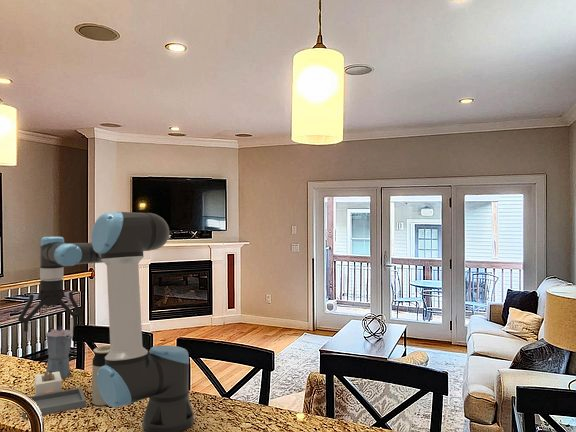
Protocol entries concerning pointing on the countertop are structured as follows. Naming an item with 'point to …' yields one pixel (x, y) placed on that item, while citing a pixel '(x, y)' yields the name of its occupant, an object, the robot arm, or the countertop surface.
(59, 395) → the tray
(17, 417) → the countertop surface
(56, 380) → the white boxy piece
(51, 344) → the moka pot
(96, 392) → the travel mug
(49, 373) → the stake
